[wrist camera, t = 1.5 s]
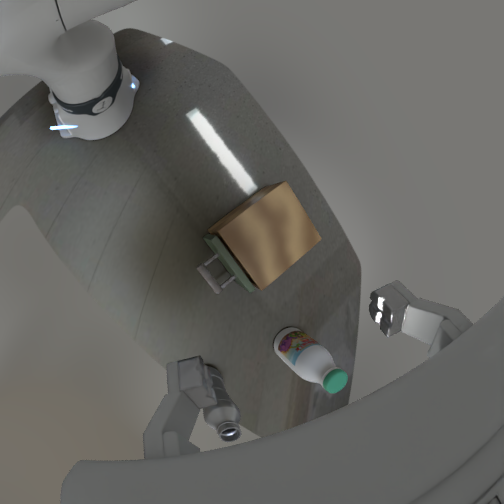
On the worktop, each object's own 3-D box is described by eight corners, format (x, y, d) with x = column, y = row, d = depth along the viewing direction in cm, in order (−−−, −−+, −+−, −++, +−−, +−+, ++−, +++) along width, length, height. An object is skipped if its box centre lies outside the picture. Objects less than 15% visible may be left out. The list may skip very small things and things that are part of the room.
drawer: (219, 298, 53) (230, 310, 45) (183, 252, 50) (188, 257, 42) (287, 242, 56) (307, 245, 49) (257, 196, 53) (273, 192, 46)
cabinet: (244, 279, 55) (261, 290, 46) (207, 229, 51) (218, 231, 42) (296, 236, 58) (321, 239, 49) (264, 186, 54) (286, 180, 45)
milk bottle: (305, 347, 62) (356, 386, 43) (277, 361, 60) (323, 408, 41) (298, 320, 60) (353, 356, 42) (268, 335, 58) (316, 379, 40)
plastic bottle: (199, 358, 53) (223, 416, 35) (225, 370, 56) (257, 426, 37) (185, 380, 53) (202, 442, 34) (211, 391, 55) (236, 450, 36)
